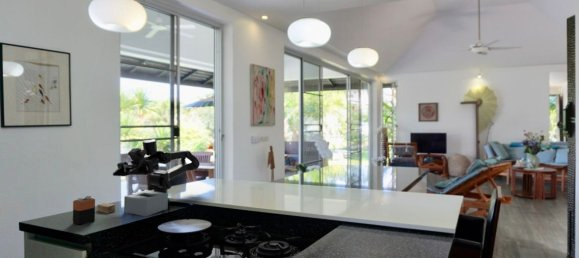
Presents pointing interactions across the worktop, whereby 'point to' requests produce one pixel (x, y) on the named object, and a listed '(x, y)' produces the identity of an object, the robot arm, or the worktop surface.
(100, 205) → the tan wooden block
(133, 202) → the coin box
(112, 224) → the worktop surface
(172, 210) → the worktop surface
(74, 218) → the battery
